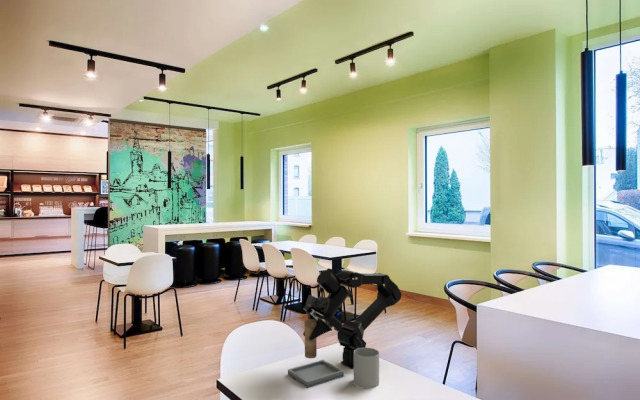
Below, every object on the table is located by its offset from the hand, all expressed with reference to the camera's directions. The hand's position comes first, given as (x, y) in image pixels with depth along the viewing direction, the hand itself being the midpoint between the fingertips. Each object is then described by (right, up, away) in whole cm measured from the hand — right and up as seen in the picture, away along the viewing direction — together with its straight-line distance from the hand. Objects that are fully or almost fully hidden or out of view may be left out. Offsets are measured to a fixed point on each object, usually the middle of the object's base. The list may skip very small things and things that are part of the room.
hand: (306, 337), depth 137 cm
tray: (+3, -13, +1) cm, 14 cm away
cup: (+20, -14, -4) cm, 24 cm away
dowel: (+1, -7, +1) cm, 7 cm away
